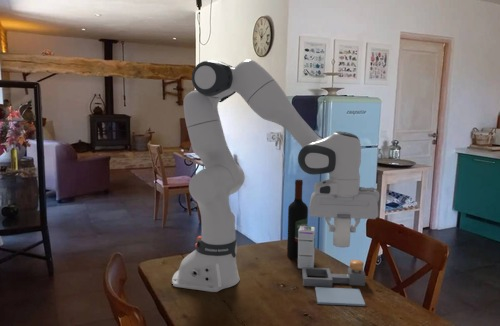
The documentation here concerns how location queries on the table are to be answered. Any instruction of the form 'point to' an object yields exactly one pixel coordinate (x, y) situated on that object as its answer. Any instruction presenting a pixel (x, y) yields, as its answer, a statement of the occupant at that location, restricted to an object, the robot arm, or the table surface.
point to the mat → (339, 296)
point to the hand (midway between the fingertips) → (341, 231)
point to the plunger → (356, 265)
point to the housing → (331, 277)
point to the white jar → (342, 231)
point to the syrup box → (306, 246)
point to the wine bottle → (296, 220)
